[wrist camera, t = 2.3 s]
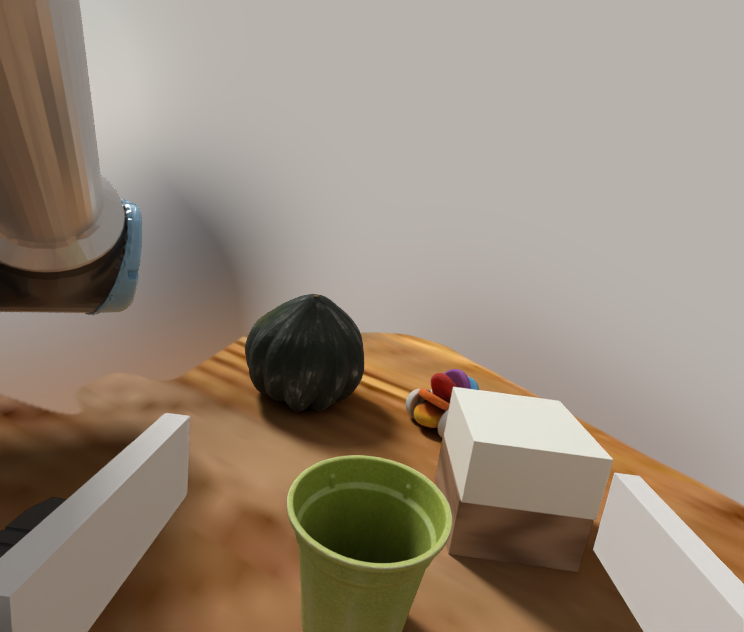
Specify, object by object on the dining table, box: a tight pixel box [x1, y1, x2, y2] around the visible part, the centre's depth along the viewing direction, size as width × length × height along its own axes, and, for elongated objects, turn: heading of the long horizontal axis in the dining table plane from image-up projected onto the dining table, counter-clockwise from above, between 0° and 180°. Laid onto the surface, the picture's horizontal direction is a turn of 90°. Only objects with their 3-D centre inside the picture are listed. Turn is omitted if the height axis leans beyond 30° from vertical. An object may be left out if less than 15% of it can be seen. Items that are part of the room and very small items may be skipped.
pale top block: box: [444, 387, 613, 520], centre depth 37 cm, size 10×10×5 cm
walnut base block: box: [435, 434, 593, 572], centre depth 38 cm, size 10×10×5 cm
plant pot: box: [287, 455, 452, 632], centre depth 26 cm, size 9×9×9 cm
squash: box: [245, 294, 364, 412], centre depth 56 cm, size 14×15×15 cm
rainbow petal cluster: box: [406, 369, 479, 438], centre depth 54 cm, size 8×10×7 cm
